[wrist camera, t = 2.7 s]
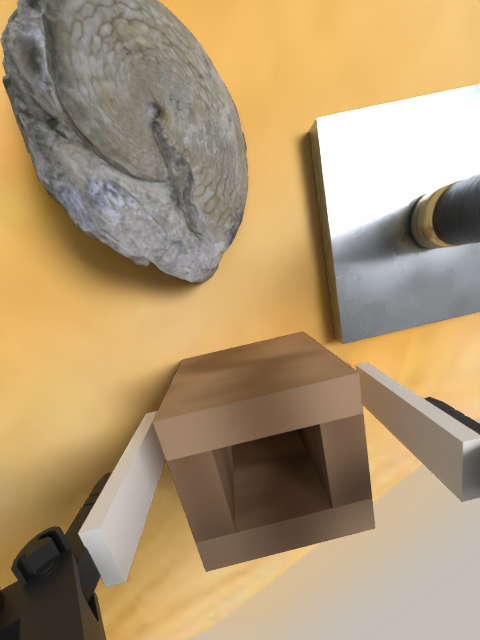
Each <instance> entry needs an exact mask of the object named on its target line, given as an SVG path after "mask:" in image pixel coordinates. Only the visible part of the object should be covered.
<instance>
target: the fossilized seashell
mask: <svg viewBox="0 0 480 640" xmlns="http://www.w3.org/2000/svg"><path fill="white" fill-rule="evenodd" d="M17 6H18V8H17V9H16V10H15V11H14V12H13V14H12V15H11V17H10V18H9V19H8V24H7V25H6V27H5V30H4V31H3V33H2V35H3V36H2V37H1V39H0V40H1V43H2V47H3V52H4V59H3V62H2V63H3V67H4V70H5V73H6V76H4V77H3V83H4V86H5V89H6V92H7V94H8V97H9V99H10V102H11V105H12V108H13V111H14V114H15V117H16V120H17V123H18V126H19V128H20V131H21V133H22V136H23V138H24V141H25V144H26V148H27V151H28V153H29V154H31V158H32V162H33V165H34V168H35V171H36V174H37V178H38V180H39V181H40V183H41V184H42V185H43V186H44V188H45V189H46V191H47V192H48V194H49V195H50V196H51V198H53V199H54V200H55V201H56V202H57V203H59V204H60V205H62V206H63V208H64V209H65V210H66V212H67V213H68V215H69V217H70V218H71V220H72V222H73V223H74V225H75V226H76V227H77V228H78V229H79V230H80V231H82V232H83V233H84V234H86V235H87V236H88V237H90V238H91V239H99V240H100V241H101V242H103V243H105V244H107V245H108V246H109V247H111V248H112V249H114V250H115V251H117V252H118V253H120V254H122V255H124V256H125V257H127V258H129V259H131V260H132V261H133V262H134V263H135V264H136V265H141V266H145V267H146V266H149V265H150V264H151V263H153V264H155V265H156V266H157V267H158V268H159V269H160V270H161V271H163V272H164V273H166V274H168V275H171V276H173V277H177V278H180V279H183V280H184V281H187V282H192V283H203V282H205V281H207V280H208V279H209V278H211V277H212V276H213V274H214V273H215V271H216V270H217V268H218V265H219V261H220V259H221V257H222V254H223V253H224V252H225V251H226V250H227V248H228V247H229V246H230V245H231V243H232V241H233V240H234V238H235V236H236V233H237V231H238V228H239V226H240V224H241V222H242V218H243V213H244V208H245V203H246V198H247V190H248V165H247V158H246V149H247V147H246V143H245V138H244V134H243V132H242V130H241V124H240V120H239V115H238V112H237V109H236V106H235V104H234V101H233V100H232V98H231V96H230V93H229V91H228V89H227V87H226V85H225V84H224V82H223V80H222V79H221V77H220V75H219V74H218V72H217V70H216V69H215V67H214V65H213V63H212V61H211V60H210V58H209V57H208V55H207V54H206V52H205V50H204V49H203V47H202V46H201V44H200V43H199V42H198V40H197V39H196V38H195V36H194V35H193V34H192V33H191V32H190V31H189V30H188V29H187V27H186V26H185V25H184V24H183V23H182V22H181V21H180V20H179V19H178V18H177V17H176V16H175V15H174V14H173V13H172V12H171V11H170V10H169V9H168V8H167V7H165V6H164V5H163V4H162V3H160V2H159V1H158V0H19V1H18V2H17Z"/></svg>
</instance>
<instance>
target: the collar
mask: <svg viewBox="0 0 480 640" xmlns="http://www.w3.org/2000/svg"><path fill="white" fill-rule="evenodd" d="M153 424H154V427H155V430H156V433H157V436H158V439H159V441H160V444H161V447H162V450H163V453H164V455H165V458H166V461H167V464H168V467H169V469H170V472H171V475H172V478H173V481H174V484H175V486H176V489H177V492H178V495H179V498H180V500H181V503H182V506H183V509H184V512H185V514H186V517H187V520H188V523H189V526H190V529H191V531H192V534H193V537H194V540H195V543H196V545H197V548H198V551H199V554H200V557H201V560H202V562H203V565H204V568H205V571H206V572H207V571H211V570H215V569H219V568H223V567H227V566H230V565H234V564H238V563H242V562H246V561H250V560H254V559H258V558H262V557H266V556H269V555H273V554H277V553H281V552H285V551H289V550H293V549H297V548H301V547H305V546H308V545H312V544H316V543H320V542H324V541H328V540H332V539H336V538H340V537H343V536H347V535H351V534H355V533H359V532H363V531H367V530H371V529H375V522H374V512H373V502H372V492H371V483H370V473H369V463H368V454H367V444H366V435H365V425H364V415H363V406H362V396H361V387H360V377H359V372H357V371H356V370H355V369H353V368H352V367H351V366H349V365H348V364H347V363H345V362H344V361H343V360H341V359H340V358H338V357H337V356H336V355H334V354H333V353H332V352H330V351H329V350H328V349H326V348H325V347H324V346H322V345H321V344H320V343H318V342H317V341H316V340H314V339H313V338H312V337H310V336H309V335H308V334H306V333H305V332H299V333H295V334H291V335H286V336H282V337H278V338H274V339H269V340H265V341H261V342H256V343H252V344H248V345H243V346H239V347H235V348H231V349H226V350H222V351H218V352H213V353H209V354H205V355H200V356H196V357H192V358H188V359H183V360H182V361H181V363H180V366H179V368H178V370H177V372H176V374H175V376H174V378H173V380H172V382H171V384H170V387H169V389H168V391H167V393H166V395H165V397H164V399H163V401H162V403H161V406H160V408H159V410H158V412H157V414H156V416H155V418H154V420H153Z"/></svg>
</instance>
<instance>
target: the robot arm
mask: <svg viewBox="0 0 480 640" xmlns="http://www.w3.org/2000/svg"><path fill="white" fill-rule="evenodd" d="M356 371H357V372H359V377H360V387H361V396H362V405H363V406H364V407H365V408H366V409H367V410H369V411H370V412H371V413H372V414H373V415H374V416H375V417H376V418H377V419H378V420H379V421H380V422H381V423H382V424H383V425H384V426H385V427H386V428H387V429H388V430H389V431H390V432H391V433H392V434H393V435H394V436H395V437H396V438H397V439H398V440H399V441H400V442H401V443H402V444H403V445H404V446H405V447H406V448H407V449H408V450H409V451H410V452H412V453H413V454H414V455H415V456H416V457H417V458H418V459H419V460H420V461H421V462H422V463H423V464H424V465H425V466H426V467H427V468H428V469H429V470H430V471H431V472H432V473H433V474H434V475H435V476H436V477H437V478H438V479H439V480H440V481H441V482H442V483H443V484H444V485H445V486H446V487H447V488H448V489H450V491H452V493H454V494H455V495H456V496H457V497H458V498H459V499H460V500H461V501H462V502H463V501H467V500H472V499H476V498H480V424H479V423H477V422H476V421H474V420H472V419H471V418H469V417H467V416H465V415H464V414H462V413H461V412H459V411H458V410H455V409H454V408H453V407H451V406H449V405H448V404H446V403H444V402H442V401H439V400H436V399H434V398H431V397H428V398H422V397H420V396H419V395H417V394H416V393H414V392H412V391H411V390H409V389H408V388H406V387H405V386H403V385H402V384H400V383H399V382H397V381H395V380H394V379H392V378H391V377H389V376H388V375H386V374H385V373H383V372H381V371H380V370H378V369H377V368H375V367H374V366H372V365H371V364H369V363H367V362H366V363H362V364H358V365H356ZM157 412H158V411H154V412H150V413H146V414H145V416H144V418H143V419H142V421H141V423H140V425H139V427H138V428H137V430H136V432H135V434H134V435H133V437H132V439H131V441H130V442H129V444H128V446H127V448H126V449H125V451H124V453H123V455H122V457H121V458H120V460H119V462H118V464H117V465H116V467H115V469H114V471H113V472H110V473H106V474H105V475H104V476H103V477H102V478H101V479H100V480H99V482H98V483H97V484H96V485H95V487H94V488H93V490H92V492H91V493H90V495H89V498H87V500H86V501H85V503H84V505H83V507H82V508H81V510H80V511H79V513H78V514H77V516H76V518H75V519H74V521H73V523H72V524H71V526H70V527H69V529H68V531H67V532H66V534H65V535H64V533H63V531H62V530H61V528H60V527H56V526H54V527H51V528H48V529H46V530H44V531H43V532H41V533H39V534H38V535H37V536H35V537H34V538H33V539H32V540H31V541H29V542H28V543H27V545H26V546H25V547H24V548H23V549H22V550H21V551H20V552H19V554H18V555H17V557H16V559H15V560H14V562H13V565H12V568H11V570H12V572H13V573H14V575H15V576H16V578H17V579H18V581H17V582H15V583H13V584H11V585H9V586H8V587H6V588H4V589H2V590H0V640H106V636H105V631H104V627H103V622H102V617H101V613H100V608H99V603H98V598H97V595H96V593H95V592H94V590H95V588H96V586H97V583H98V581H99V578H100V577H101V579H102V581H103V583H104V585H105V587H109V586H114V585H118V584H122V583H126V580H127V577H128V574H129V571H130V568H131V565H132V562H133V558H134V555H135V552H136V549H137V546H138V543H139V540H140V537H141V534H142V531H143V528H144V524H145V521H146V518H147V515H148V512H149V509H150V506H151V503H152V500H153V497H154V494H155V490H156V487H157V484H158V481H159V478H160V475H161V472H162V469H163V466H164V463H165V460H166V458H165V455H164V453H163V450H162V447H161V444H160V441H159V439H158V436H157V433H156V430H155V427H154V424H153V420H154V418H155V416H156V414H157Z"/></svg>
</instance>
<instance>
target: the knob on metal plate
mask: <svg viewBox="0 0 480 640" xmlns="http://www.w3.org/2000/svg"><path fill="white" fill-rule="evenodd" d="M309 135H310V143H311V151H312V159H313V167H314V175H315V183H316V190H317V198H318V206H319V214H320V222H321V230H322V238H323V246H324V254H325V262H326V270H327V278H328V286H329V294H330V302H331V310H332V318H333V325H334V333H335V339H336V340H338V341H339V342H341V343H343V344H344V343H349V342H353V341H357V340H361V339H366V338H370V337H374V336H378V335H383V334H387V333H391V332H395V331H400V330H404V329H408V328H412V327H417V326H421V325H425V324H430V323H434V322H438V321H442V320H447V319H451V318H455V317H459V316H464V315H468V314H472V313H476V312H480V84H477V85H473V86H468V87H463V88H458V89H454V90H449V91H444V92H439V93H434V94H430V95H425V96H420V97H415V98H411V99H406V100H401V101H396V102H392V103H387V104H382V105H377V106H372V107H368V108H363V109H358V110H353V111H349V112H344V113H339V114H334V115H330V116H325V117H320V118H316V120H315V122H314V123H313V125H312V127H311V128H310V130H309Z"/></svg>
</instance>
